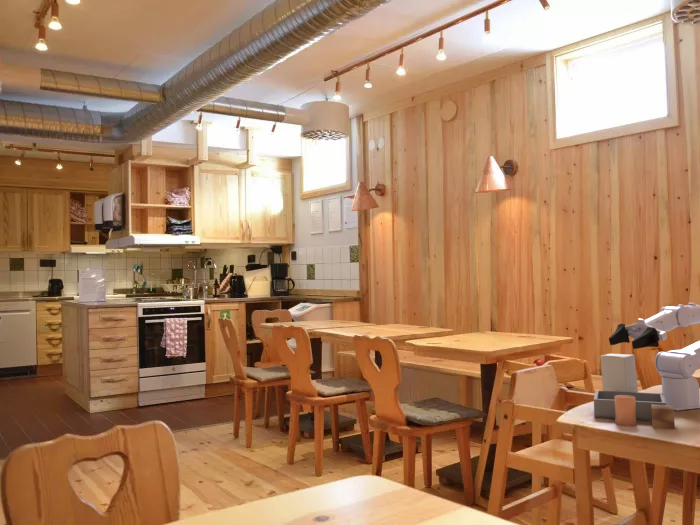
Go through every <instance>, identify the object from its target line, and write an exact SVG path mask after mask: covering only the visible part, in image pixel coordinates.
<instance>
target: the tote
mask: <svg viewBox="0 0 700 525" xmlns="http://www.w3.org/2000/svg"><path fill="white" fill-rule="evenodd" d="M616 395H630V396H634V397H635V401H636V421H641V422H642V421H643V422H652V414H651V404H654V405H666V402H665V399H664V395H663V393H662V392H658V393H657V392H640V391H638V392H622V391H603V390H598V389H596V390H595V393H594V397H593V411H594V412H593V415H594V417H593V418H595V419H609V420H610V419H611V420H612V419H613V420H615V396H616Z"/></svg>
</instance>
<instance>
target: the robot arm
mask: <svg viewBox="0 0 700 525" xmlns="http://www.w3.org/2000/svg"><path fill="white" fill-rule="evenodd" d="M697 324H698V325H699V324H700V304H697V303H696V302H688V303H687V305H684V304H682V303H681V304H677V306H668V305H667V306H662V307H661V308H660V310H659V312H658V313H657V314H654V315H652V316H650V317H648V318H646V319H644V318H638V319H636V322H635V323H632V324H629V325H626V324H625V323H619V324H617V327H616V329H615V331H614V332H613V334H611V335H610V337H609V338H608V341H609V345H610V346H615V345H618V344H622V343H627V344H628V343H631V344H632V349H633V350H634V349H635V350H638V349H643V348H649V347H650V348H653V347H654V348H658V347H659V346H660V344H659V341H660V342H663V341H665V340H667V339H668V335H667V333H669V332H670V331H673V330H674V329H676V328H678V327H680V328H682V327H683V328H688V327H689V326H691V325H697ZM630 338H633V340H632V341H630ZM653 363H654V367H655V369H656V371H657V372H658V375H659V376H661V393H663V395H664V399H665V402H666V405H672V406H673V408H674V411H683V410H686V411H687V410H695V409H700V384H699V381H698V380H697V378H696V377H695V376H693V375H694V374H695V373H696V371H697V370H699V369H700V340H698V341H696V342H694V343H692V344H689V345H688V346H685V347H682V348H681V349H673V350H668V351H659V352H658V353H657V354H656V355H655V357H654V362H653Z"/></svg>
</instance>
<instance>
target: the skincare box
mask: <svg viewBox="0 0 700 525" xmlns="http://www.w3.org/2000/svg"><path fill="white" fill-rule="evenodd" d="M600 367H601V368H600V369H601V381H602V383H601V384H602V391H622V392H639V391H638V390H639V389H638V379H637V369H636V367H637V366H636V355H635V354H629V353H627V354H623V353H607V354H601V355H600Z"/></svg>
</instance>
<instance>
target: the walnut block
mask: <svg viewBox="0 0 700 525" xmlns="http://www.w3.org/2000/svg"><path fill="white" fill-rule="evenodd" d="M651 414H652V421H651V427H652V429H664V430H665V429H666V430H676V425H675V424H676V423H675V410H674V408H673V406H672V405H654V404H651Z"/></svg>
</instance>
